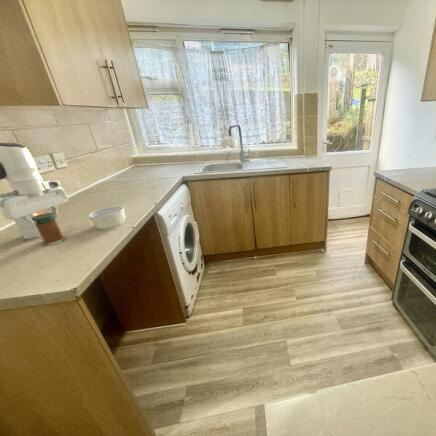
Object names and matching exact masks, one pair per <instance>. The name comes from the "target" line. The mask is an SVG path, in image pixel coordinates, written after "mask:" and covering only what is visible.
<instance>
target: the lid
mask: <svg viewBox="0 0 436 436" xmlns="http://www.w3.org/2000/svg"><path fill="white" fill-rule="evenodd" d="M54 219H55V220H56V217H55V215H54V214H53V213H52V212H47V213H45V212H44V214H40V215H37V216H34V217H32V220H36V221H37V223H38V224H40V223H46V222H49V221H52V220H54Z"/></svg>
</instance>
